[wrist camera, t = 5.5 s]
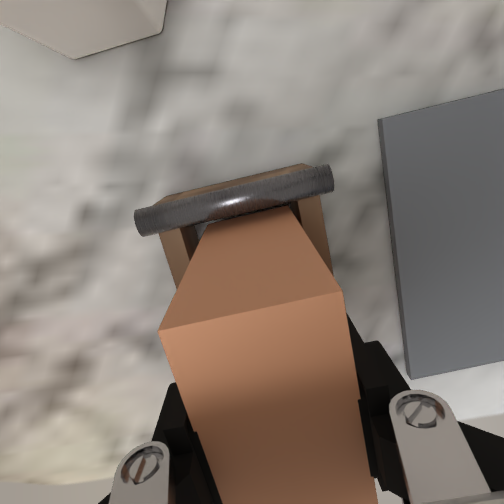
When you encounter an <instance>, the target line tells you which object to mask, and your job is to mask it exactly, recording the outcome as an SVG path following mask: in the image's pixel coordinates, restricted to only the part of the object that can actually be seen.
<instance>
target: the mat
mask: <svg viewBox="0 0 504 504" xmlns="http://www.w3.org/2000/svg"><path fill="white" fill-rule="evenodd" d="M378 127H379V135H380V144H381V153H382V161H383V170H384V179H385V187H386V196H387V204H388V213H389V222H390V230H391V239H392V248H393V256H394V265H395V274H396V282H397V291H398V300H399V308H400V317H401V326H402V334H403V343H404V352H405V360H406V369H407V375H408V376H409V377H410V379H411V380H414V379H418V378H423V377H428V376H433V375H437V374H442V373H447V372H452V371H456V370H461V369H466V368H471V367H476V366H480V365H485V364H490V363H495V362H499V361H504V89H501V90H497V91H493V92H489V93H485V94H481V95H477V96H472V97H468V98H464V99H460V100H456V101H452V102H448V103H444V104H440V105H436V106H432V107H428V108H423V109H419V110H415V111H411V112H407V113H403V114H399V115H395V116H391V117H387V118H383V119H379V120H378Z"/></svg>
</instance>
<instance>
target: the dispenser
mask: <svg viewBox="0 0 504 504" xmlns="http://www.w3.org/2000/svg"><path fill="white" fill-rule="evenodd" d="M333 191H334V180H333V175H332V171H331V168H330V166H329V164H325V165H320V166H316V167H311V166H308V165H305V164H302V163H301V164H297V165H293V166H289V167H285V168H281V169H276V170H272V171H268V172H264V173H260V174H256V175H252V176H247V177H243V178H239V179H235V180H231V181H227V182H223V183H219V184H214V185H210V186H206V187H202V188H198V189H194V190H190V191H185V192H181V193H177V194H173V195H169V196H166V197H164V198H163V199H162V200H160V201H159V202H157V203H156V204H154V205H153V206H150V207H146V208H142V209H138V210H135V212H134V220H135V224H136V227H137V230H138V232H139V233H140V235H141V236H143V237H145V236H149V235H153V234H157V233H159V236H160V239H161V242H162V245H163V249H164V252H165V255H166V258H167V261H168V264H169V267H170V270H171V273H172V276H173V279H174V282H175V285H176V288H177V289H178V286H179V284H180V282H181V280H182V278H183V276H184V274H185V272H186V269H187V267H188V265H189V263H190V261H191V259H192V257H193V255H194V252H195V250H196V248H197V246H198V244H199V240H198V237H197V234H196V230H195V227H194V225H195V224H200V223H204V222H208V221H212V220H216V219H221V218H225V217H229V216H233V215H238V214H242V213H246V212H250V211H254V210H259V209H263V208H267V207H271V206H276V205H280V204H284V203H288V202H290V203H291V208H292V213H293V214H294V216H295V217H296V219H297V220H298V222H299V224H300V225H301V227H302V228H303V230H304V231H305V233H306V235H307V236H308V238H309V239H310V241H311V242H312V244H313V245H314V247H315V249H316V250H317V252H318V253H319V255H320V256H321V258H322V260H323V261H324V263H325V264H326V266H327V267H328V269H329V271H330V272H331V274H332V275H333V270H332V264H331V258H330V253H329V247H328V241H327V236H326V230H325V224H324V218H323V213H322V207H321V201H320V195H322V194H326V193H330V192H333ZM333 277H334V276H333Z"/></svg>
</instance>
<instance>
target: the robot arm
mask: <svg viewBox="0 0 504 504" xmlns="http://www.w3.org/2000/svg"><path fill="white" fill-rule="evenodd" d="M346 315H347V321H348V327H349V333H350V339H351V345H352V351H353V357H354V362H355V368H356V374H357V380H358V386H359V392H360V398H361V399H358V405H359V411H360V417H361V423H362V429H363V434H364V440H365V446H366V452H367V458H368V464H369V469H370V475H371V477H374V478H377V479H378V482H379V484H380V487H381V489H382V491H388V490H389V491H391V492H392V493H394V494H396V495H398V496H399V497H401V499H402V504H504V438H502V437H500V436H497V435H494V434H492V433H489V432H486V431H483V430H480V429H478V428H475V427H472V426H470V425H467V424H464V423H461V422H459V421H457V420H456V418H455V416H454V414H453V412H452V409H451V408H450V406H449V405H448V404H447V402H446V401H444V400H443V399H442V398H441V397H439V396H437V395H435V394H433V393H431V392H427V391H423V390H411V389H410V387H409V386H408V384H407V383H406V381H405V380H404V378H403V377H402V375H401V374H400V372H399V371H398V369H397V368H396V366H395V365H394V363H393V362H392V360H391V359H390V357H389V356H388V354H387V352H386V351H385V349H384V348H383V346H382V345H381V343H380V342H379V341H372V342H367V343H364V342H363V340H362V339H361V337H360V335H359V333H358V332H357V330H356V328H355V327H354V325H353V323H352V321H351V320H350V318H349V316H348V314H347V313H346ZM98 504H223V503H222V500H221V497H220V494H219V492H218V489H217V486H216V483H215V480H214V478H213V475H212V472H211V469H210V467H209V464H208V461H207V458H206V455H205V453H204V450H203V447H202V444H201V441H200V439H199V436H198V433H197V431H196V432H194V431H193V428H192V425H191V422H190V420H189V417H188V414H187V411H186V409H185V406H184V403H183V400H182V397H181V395H180V392H179V389H178V386H177V384H176V382H175V383H171V384H170V385H169V387H168V390H167V394H166V397H165V400H164V403H163V406H162V409H161V413H160V416H159V419H158V422H157V425H156V428H155V432H154V435H153V438H152V441H151V442H147V443H144V444H142V445H140V446H137V447H136V448H134V449H133V450H132V451H130V452H129V453H128V454H127V455H126V456H125V457H124V458H123V459H122V461H121V462H120V464H119V465H118V467H117V470H116V472H115V476H114V481H113V486H112V491H111V493H110V494H109V495H107V496H106V497H105V498H104V499H103V500H102V501H101V502H100V503H98Z"/></svg>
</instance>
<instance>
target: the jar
mask: <svg viewBox="0 0 504 504" xmlns="http://www.w3.org/2000/svg"><path fill="white" fill-rule="evenodd" d="M166 4H167V0H0V24H1V25H3V26H5V27H7V28H9V29H11V30H13V31H15V32H17V33H19V34H21V35H23V36H25V37H27V38H30V39H32V40H34V41H36V42H38V43H40V44H42V45H44V46H46V47H48V48H50V49H52V50H54V51H56V52H58V53H60V54H62V55H64V56H66V57H68V58H70V59H78V58H81V57H84V56H87V55H91V54H94V53H97V52H100V51H104V50H107V49H110V48H113V47H117V46H120V45H123V44H126V43H130V42H133V41H136V40H140V39H143V38H146V37H149V36H153V35H156V34H159V33H160V32H161V31H162V28H163V22H164V16H165V10H166Z"/></svg>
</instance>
